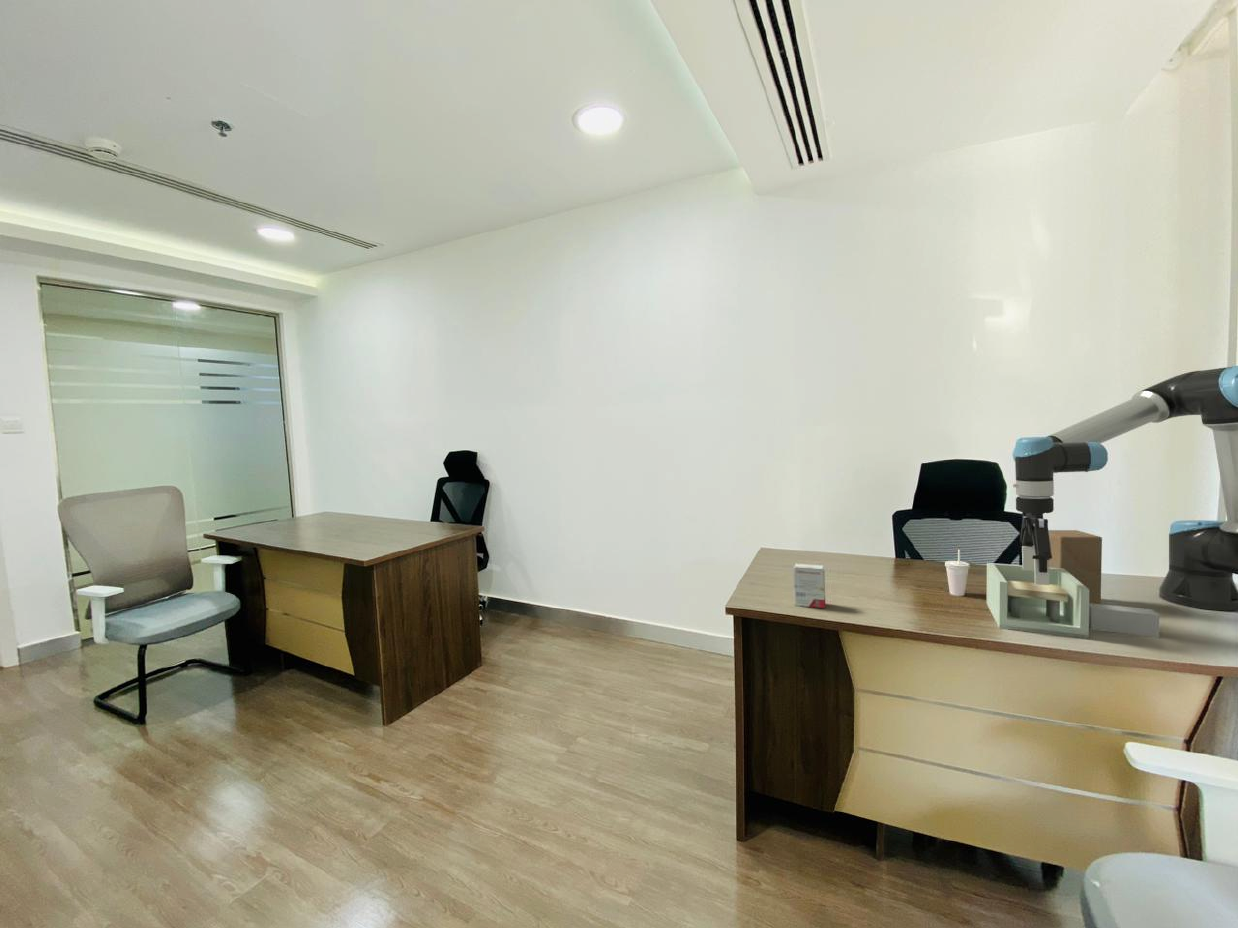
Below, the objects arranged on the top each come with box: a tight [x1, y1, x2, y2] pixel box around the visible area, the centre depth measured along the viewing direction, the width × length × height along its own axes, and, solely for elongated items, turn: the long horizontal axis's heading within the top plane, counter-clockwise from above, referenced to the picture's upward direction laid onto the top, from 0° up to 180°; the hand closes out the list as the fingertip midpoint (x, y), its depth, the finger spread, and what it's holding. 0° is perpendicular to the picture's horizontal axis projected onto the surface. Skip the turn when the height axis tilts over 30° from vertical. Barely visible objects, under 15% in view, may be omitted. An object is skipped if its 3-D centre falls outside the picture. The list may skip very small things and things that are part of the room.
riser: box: [1089, 603, 1160, 639], centre depth 122 cm, size 12×4×6 cm, turn 61°
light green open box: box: [986, 562, 1090, 640], centre depth 130 cm, size 17×20×12 cm
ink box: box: [793, 563, 826, 609], centre depth 147 cm, size 9×5×12 cm, turn 65°
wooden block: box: [1041, 529, 1103, 604], centre depth 142 cm, size 10×10×20 cm
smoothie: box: [944, 548, 971, 597], centre depth 152 cm, size 6×6×14 cm
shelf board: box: [1006, 580, 1068, 602], centre depth 130 cm, size 12×8×2 cm, turn 61°
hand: (1035, 577), depth 130 cm, fingers open, 13 cm apart
